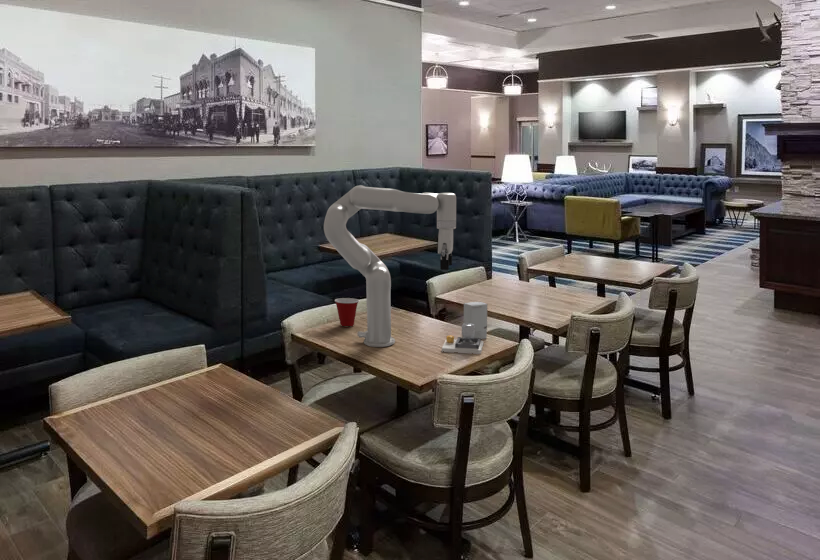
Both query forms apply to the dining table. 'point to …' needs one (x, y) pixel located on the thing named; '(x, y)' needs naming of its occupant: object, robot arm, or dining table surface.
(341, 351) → the dining table surface
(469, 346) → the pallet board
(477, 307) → the skincare box
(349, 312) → the plastic cup
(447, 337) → the button
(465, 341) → the block
